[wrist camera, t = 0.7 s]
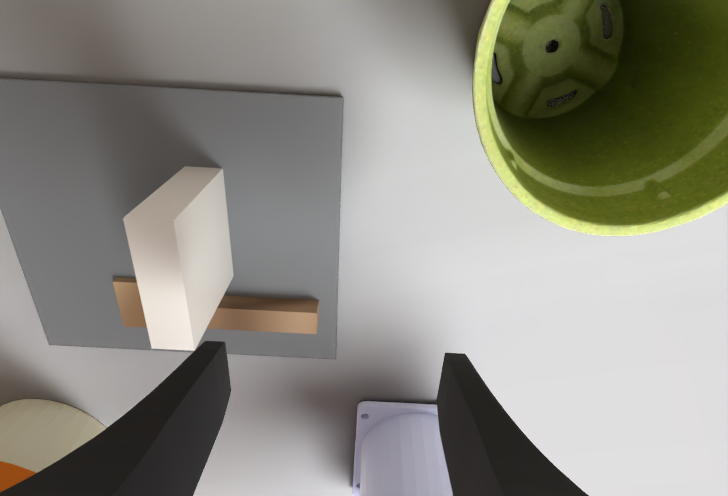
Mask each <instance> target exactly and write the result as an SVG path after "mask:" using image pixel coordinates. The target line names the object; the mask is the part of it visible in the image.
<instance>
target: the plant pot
mask: <svg viewBox="0 0 728 496" xmlns="http://www.w3.org/2000/svg"><path fill="white" fill-rule="evenodd" d="M602 4H603V6H606V7H607V9H608V11H609V13H610V15H611V18H612V33H611V36H610V38H608V39H605V38H604V37H603V32H604V31H603V20H602V16H601V13H602V10H601V9H600V6H601V5H602ZM552 40H555V41H557V42H558V48H557V50H556V51H555V52H553V53H547V51H546V45H547V43H548V42H549V41H552ZM493 52H494V53H495V54H496V60H497V66H498V71H499V74H500V75H501V77H502V83H501V84H496V83H495V82H494V81H493V80H492V77H491V71H492V59H493ZM574 90H577V93H576V95H575V97H574V98H573V99H571V100H569V101H567V102H565V103H563V104H561V105H558V106H554V107H551V106H547V104H546V102H547V101H548V100H551V99H554V98H558V97H562V96H564V95H566V94H569V93H570V92H572V91H574ZM472 94H473V108H474V115H475V121H476V127H477V130H478V133H479V137H480V140H481V144H482V146H483V148H484V150H485V153H486V155H487V157H488V159H489V161H490V163H491V165H492V167H493V169H494V170H495V172H496V173H497V175H498V176H499V178H500V179H501V181H502V182H503V183H504V185H505V186H506V187H507V188H508V190H509V191H510V192H511V193H512V194H513V195H514V196H515V197H516V198H517V199H518V200H519V201H520V202H521V203H522V204H523V205H525V206H526V207H527V208H529V209H530V210H531V211H533V212H534V213H536V214H537V215H539V216H541V217H542V218H544V219H546V220H548V221H550V222H552V223H554V224H557V225H559V226H561V227H563V228H566V229H570V230H573V231H577V232H581V233H586V234H592V235H599V236H627V235H640V234H646V233H653V232H658V231H662V230H665V229H669V228H672V227H675V226H679V225H682V224H684V223H687V222H690V221H692V220H696V219H698V218H701V217H703V216H705V215H707V214H709V213H711V212H713V211H715V210H717V209H719V208H721V207H723V206H724V205H726V204H727V203H728V0H491V2H490V4H489V7H488V9H487V12H486V14H485V17H484V19H483V21H482V24H481V27H480V29H479V33H478V37H477V43H476V52H475V59H474V67H473V82H472Z"/></svg>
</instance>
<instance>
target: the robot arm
mask: <svg viewBox="0 0 728 496" xmlns="http://www.w3.org/2000/svg"><path fill="white" fill-rule="evenodd" d="M230 393H231V386H230V378H229V370H228V361H227V353H226V344H225V342H222V341H205V342H203V343H202V344H201V345H200V346H199V347H198V348H197V349H196V350H195V351H194V352H193V353H192V354H191V355H190V356H189V357H188V358H187V359H186V360H185V361H184V362H183V363H182V364H181V365H180V366H179V367H178V368H177V369H176V370H175V371H174V372H173V373H171V374H170V375H169V376H168V377H167V378H166V379H165V380H164V381H163V382H162V383H161V384H160V385H159V386H158V387H156V388H155V389H154V390H153V391H152V392H151V393H150V394H149V395H147V396H146V397H145V398H144V399H143V400H141V401H140V402H139V403H138V404H137V405H136V406H134V407H133V408H132V409H131V410H130V411H128V412H127V413H126V414H125V415H123V416H122V417H121V418H120V419H118V420H117V421H116V422H114V423H113V424H112V425H110V426H109V427H108V428H106V429H105V430H104V431H102V432H101V433H99V434H98V435H97V436H95V437H94V438H92V439H91V440H89V441H88V442H86V443H85V444H83V445H81V446H80V447H78V448H77V449H75V450H74V451H72V452H71V453H69V454H67V455H66V456H64V457H63V458H61V459H60V460H58V461H56V462H55V463H53V464H51V465H50V466H48V467H46V468H44V469H43V470H41V471H39V472H37V473H36V474H34V475H32V476H30V477H28V478H27V479H25V480H23V481H21V482H19V483H17V484H15V485H14V486H12V487H10V488H8V489H6V490H4V491H2V492H0V496H193V494H194V491H195V489H196V487H197V484H198V482H199V479H200V477H201V474H202V472H203V469H204V467H205V464H206V462H207V460H208V457H209V455H210V452H211V450H212V447H213V445H214V442H215V440H216V437H217V435H218V432H219V430H220V427H221V425H222V422H223V419H224V415H225V412H226V408H227V404H228V400H229V396H230ZM364 414H366V415H364ZM352 494H353V496H588V495H587V494H586V493H585V492H583V491H582V490H581V489H580V488H579V487H578V486H577V485H575V484H574V483H573V482H572V481H571V480H570V479H569V478H568V477H566V476H565V475H564V474H563V473H562V472H561V471H560V470H559V469H557V468H556V467H555V466H554V465H553V464H552V463H551V462H550V461H549V460H548V459H547V458H546V457H545V456H544V455H543V454H542V453H541V452H540V451H539V450H538V449H537V448H536V446H535V445H534V444H533V443H532V442H531V441H530V440H529V439H528V438H527V437H526V435H525V434H524V433H523V432H522V431H521V430H520V428H519V427H518V426H517V425H516V424H515V422H514V421H513V420H512V419H511V418H510V416H509V415H508V414H507V413H506V411H505V410H504V409H503V407H502V406H501V405H500V403H499V402H498V401H497V399H496V398H495V397H494V395H493V394H492V393H491V391H490V390H489V389H488V387H487V386H486V384H485V383H484V381H483V380H482V378H481V377H480V375H479V374H478V372H477V371H476V369H475V368H474V366H473V365H472V363H471V362H470V360H469V359H468V357H467V356H466V355H465V354H457V353H445V356H444V362H443V367H442V373H441V379H440V384H439V390H438V396H437V405H434V404H414V403H394V402H373V401H363V402H360V403H359V404H358V409H357V425H356V441H355V457H354V473H353V489H352Z"/></svg>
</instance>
